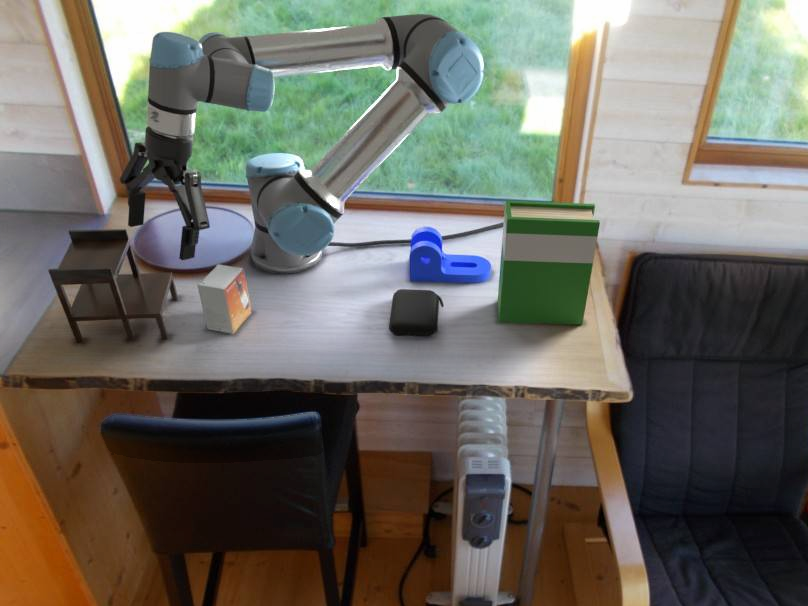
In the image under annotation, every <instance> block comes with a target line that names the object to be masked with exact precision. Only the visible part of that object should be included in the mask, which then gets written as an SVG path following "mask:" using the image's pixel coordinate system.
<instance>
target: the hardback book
mask: <svg viewBox="0 0 808 606" xmlns="http://www.w3.org/2000/svg"><path fill="white" fill-rule="evenodd" d="M595 209H596V204H595V203H579V202H578V203H577V202H557V201H556V202H555V201H534V200H533V201H531V200H530V201H529V200H506V199H505V200H504V209H503V211H504V213H503V222H504V223H503V222H502V223H503V226H502V236H501V237H502V238H501V249H500V250H501V251H500V265H499V278H498V289H497V292H498V293H497V312H498V322H499V323H510V324H511V323H512V324H548V325H549V324H551V325H553V324H554V325H583V323H584V318H585V312H586V306H587V301H588V294H589V289H590V283H591V278H592V271H593V265H594V261H595V255H596V248H597V242H598V238H599V231H600V224H601V222H600V220H599V219H595V217H594V215H595Z"/></svg>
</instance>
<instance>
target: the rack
mask: <svg viewBox="0 0 808 606" xmlns="http://www.w3.org/2000/svg"><path fill="white" fill-rule="evenodd" d="M68 235H69V238H70V240H71V242H70V244H69V246H68V248H67V249H66V252H65V254H64V256H63V258H62V260H61V262H60V264H59V266H58V268H49V269H48V271H47V272H48V274H49V277H50V279H51V281H52V284H53V287H54V289H55V291H56V294H57V297H58V300H59V302H60V305H61V307H62V309H63V313H64V315H65V317H66V319H67V323H68V324H69V327H70V330H71V332H72V335H73V338H74V340H75V343H76V344H83V343H84V336H83V335H82V333H81V329H80V327H79V324H78V322H94V321H95V322H96V321H97V322H98V321H118V320H119V321H120V320H121V323H122V326H123V329H124V332H125V335H126V338H127V341H129V342H132V341H135V338H136V337H135V334H134V330H133V327H132V325H131V322H130V320H142V319H144V320H145V319H155V320H156V324H157V327H158V330H159V335H160V337H161V340H168V339H169V334H168V329H167V326H166V323H165V319H164V316H163V314H164V310H165V307H166V303H167V299H168V296H169V293H170V295H171V296H170V297H171V300H172V301H178V300H179V294H178V291H177V287H176V283H175V280H174V279H175V278H174V276H173V272H152V273H140V270H139V267H138V263H137V260H136V256H135V254H134V250H133V246H132V244H131V240H130V236H129V233H128V230H127V229H126V228H118V229H117V228H115V229H114V228H113V229H73V230H71V229H69V230H68ZM126 256H127V260H128V264H129V266H130V270H131V273H124V274H123V273H120V271H121V268H122V266H123V264H124V260H125V259H126ZM119 273H120V274H119ZM70 285H73V286H74V285H80V286H79V289H78V291H77V293H76V295H75V298H74V300H73V302H72V304H70V303H71V302H70V301H69V298H68V295H67V293H66V290H65V288H64V286H70Z"/></svg>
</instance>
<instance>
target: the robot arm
mask: <svg viewBox="0 0 808 606" xmlns="http://www.w3.org/2000/svg"><path fill="white" fill-rule="evenodd" d="M149 57H150V58H149V60H148V61H149V70H148V71H149V72H148V87H147V88H148V89H147V105H146V106H147V107H146V108H147V109H146V111H147V112H146V120H145V122H146V125H147V126H146V128H145V132H144V141H142V142H135V143H134V147H133V152H132V155H131V156H130V159H129V161H128V162H127V164H126V166H125V168H124V170H123V172H122V173H121V175H120V177H119V182H120V184H121V185H125V186H126V190H127V192H128V194H127V197H128V198H127V205H128V220H127V221H128V222H127V227H130V228H132V227H138V226H139V227H140V226H144V222H145V206H146V194H147V193H146V192H145V191H144V190H145V187H147V186H148V185H149V184H150V183H152V182H153V181H154V180H155V179H156V180H157V181H160V182H162V183H163V184H164V185H166V186H167V187H168V190H169V192H171V193H172V194H173V196H174V198H175V201H176V204H177V206H178V209H179V211H180V215H181V217H182V219H183V221H184V223H185V225H182V226H181V227H182V229H181V236H180V237H181V238H180V248H179V258H178V259H179V260H181V261H185V260H190V259H194V258H195V256H196V247H197V245H198V243H199V237H200V231H202V230H207V229H210V227H211V225H210V220H209V215H208V211H207V206H206V201H205V197H204V193H203V189H202V188H203V187H202V174H201V172H200V171H192V170H190V169H189V167H188V161H189V160H190V159H191V157H192V156H193V148H194V136H193V135H194V134H195V133H196V132H195V131H196V120H197V119H196V117H197V108H198V102H201V103H205V104H212V105H216V106H223V107H229V108H233V109H238V110H245V111H247V112H261V113H265V112H268V111H269V110H270V109H271V108H272V105H273V102H274V98H275V78H281V77H291V76H299V75H309V74H317V73H324V72H325V73H326V72H327V73H328V72H334V71H335V72H337V71H343V70H352V69H362V68H369V67H370V68H371V67H379V66H381V67H382V68H383V69H384V70H386V71H392V70H396V79H395V80H394V82H392V83H391V85H390V86H389V87H388V88H387V89H386V90H385V91H384V92H383V93H382V94H381V96H379V98H378V99H377V100H375V102H374V103H373V104H372V105H371V106H370V107H368V109H367V110H365V112H364V113H363V114H362V115H361V117H360V118H359V119H357V120H356V122H354V124H353V125H352V126H351V127H350V128H349V129H347V131H345V133H344V134H343V135H342V136H341V138H339V140H338V141H337V142H336V143H334V145H333V146H332V147H331V148H330V149H329V150H328V151H327V152H326V153H325V154H324V156H323V157H322V158H320V159H319V160H318V162H317V163H316V164H315V165H314V166H313V167H312V168H310V169H306V167H305V166H304V165H305V164H304V162H303V159H302V158H301V157H300V156H298V155H296V154H292V153H287V152H272V153H264V154H260V155H257V156H255V157H252V158H250V159H249V160H248V161H246V164H245V178H246V180H247V187H248V192H249V198H250V204H251V209H252V215H253V220H254V231H253V236H252V241H251V247H250V255H251V260H252V263H253V264H254V265H255V266H256V267H257V268H259V269H260V270H263V271H266V272H269V273H273V274H294V273H299V272H303V271H307V270H308V269H311V268H312V267H314V266H315V265H317V264H318V263H319V262H320V260H321V259H322V256H323V250H325V249H326V248H327V247H342V248H358V247H368V246H369V247H371V246H378V245H395V244H396V245H399V244H411V238H410V239H409V238H408V239H407V238H406V239H385V240H384V239H382V240H372V241H363V242H339V241H332V240H333V239H334V236H335V223H336V222H337V221H339V220H340V218H341V217H342V216H343V215H344V214H345V202H346V201H347V199H349V197H350V196H351V195H352V194H353V193H354V192H355V191H356V190H357V189H358V188H359V187H360V186H361V185H362V184H363V183H364V182H365V181H366V180H367V179H368V177H370V175H371V174H372V173H373V172H374V171H375V170H377V168H378V167H379V166H380V165H381V164H382V163H383V162H384V161H385V160H386V159H387V158H388V157H389V156H390V155H391V154H392V153H393V152H394V150H395V149H397V148H398V146H400V145H401V143H402V142H403V141H404V140H405V139H406V138H407V137H408V136H409V135H410V134H411V133H412V132H413V131H414V130H415V129H416V128H417V127H418V126H419V125H420V124H421V123H422V121H424V120H425V119H426V117H428V116H429V115H440V114H442V112H444V110H446V108H447V107H448V106H450V105H456V104H463V103H466V102H468V101H469V100H471V99H472V98H473V97H474V96H475V95H476V93H477V92H478V91H479V89H480V87H481V84H482V83H483V80H484V71H485V70H484V69H485V63H484V58H483V55H482V52H481V50H480V48H479V47H478V46H477V44H476V43H474V41H473V40H472V39H471V38H470V37H469V36H468V35H467V34H465V33H464V32H462V31H459V29H457V28H456V27H454V26H452V25H451V24H450V23H448V21H446V20H445V19H443V18H441V17H439V16H437V15H432V14H427V13H425V14H424V13H417V14H403V15H392V16H382V17H378V18H377V19H376V20H375V22H374V23H369V24H360V25H359V24H357V25H349V26H339V27H338V26H337V27H329V28H318V29H309V30H299V31H287V32H277V33H268V34H267V33H265V34H257V35H245V36H244V35H243V36H231V37H229V36H228V35H226V34H224V33H222V32H221V33H220V32H217V31H216V32H215V31H213V32H212V31H211V32H208V33H205V34H204V35H203V36H202V37H201V38H200V39H199V40H196V39H194V38H193V37H191V36H187V35H183V34H182V33H177V32H172V31H160V32H157V33H155V35H154V36H153V37H152V42H151V50H150V56H149ZM147 162H148V164H147ZM146 164H147V165H146ZM180 183H181V184H180ZM503 223H504V221H502V222H499V223H496V224H492V225H487V226H485V227H480V228H477V229H471V230H466V231H463V232H458V233H453V234H448V235H441V237H442V241H444V240H445V241H446V240H450V239H451V240H452V239H455V238H462V237H465V236H471V235H475V234H479V233H482V232H486V231H489V230H490V231H491V230H494V229H498V228H501V227H502V228H503Z"/></svg>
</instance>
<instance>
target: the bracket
mask: <svg viewBox="0 0 808 606" xmlns="http://www.w3.org/2000/svg"><path fill="white" fill-rule="evenodd" d="M441 236H442V234H441V233H440V231H438V230H437V229H436V228H434V227H432V226H421V227H417V228H416V229H415V230H414V231H413V232H412V234H411V236H410V239H411V243H410V250H409V260H408V265H409V266H408V267H409V270H408V271H409V282H426V283H427V282H428V283H456V284H457V283H458V284H479V283H483V282H485V281H487V280H489V278H490V277H491V272H492V269H491V268H492V264H491V262H490V261H489V260H488V259H486V258H485V257H482V256H479V255H473V254H449V253H445V252H444V251H443V240H442V237H441Z"/></svg>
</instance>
